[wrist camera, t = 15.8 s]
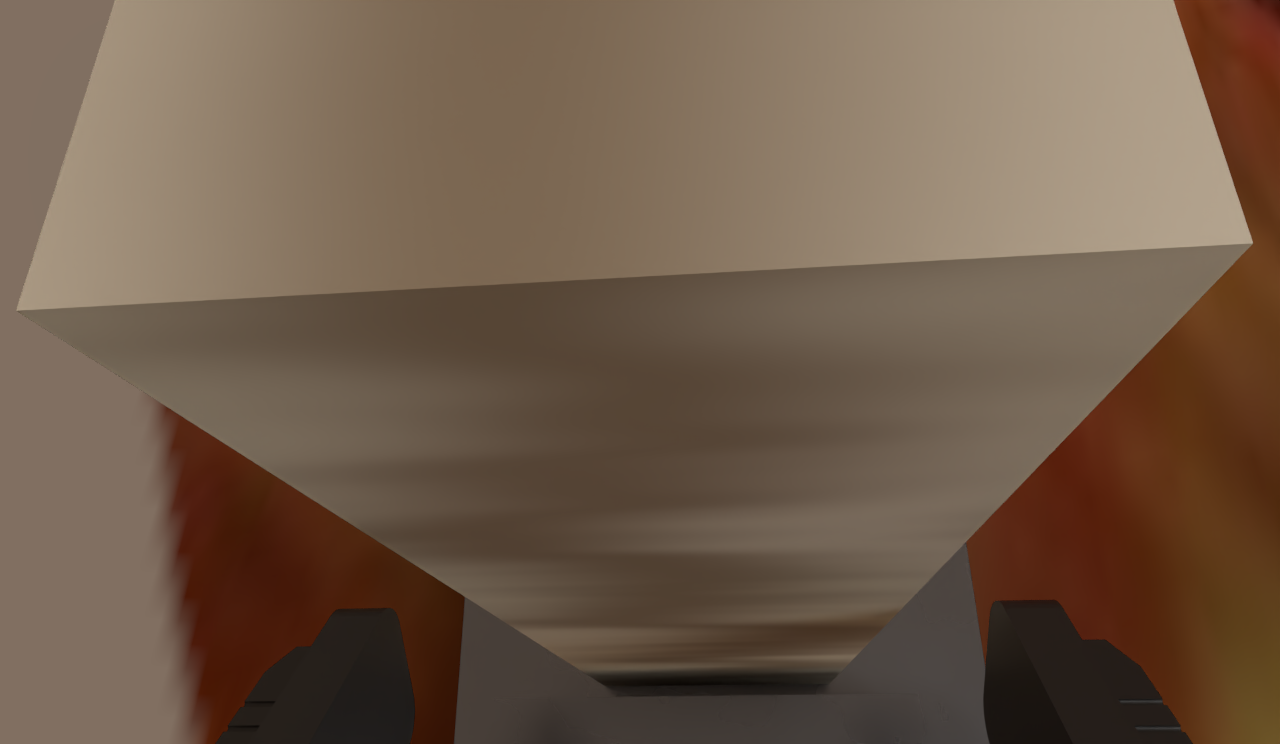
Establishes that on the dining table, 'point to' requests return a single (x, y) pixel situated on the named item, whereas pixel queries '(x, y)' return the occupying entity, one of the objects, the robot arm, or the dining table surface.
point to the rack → (741, 688)
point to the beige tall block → (642, 284)
